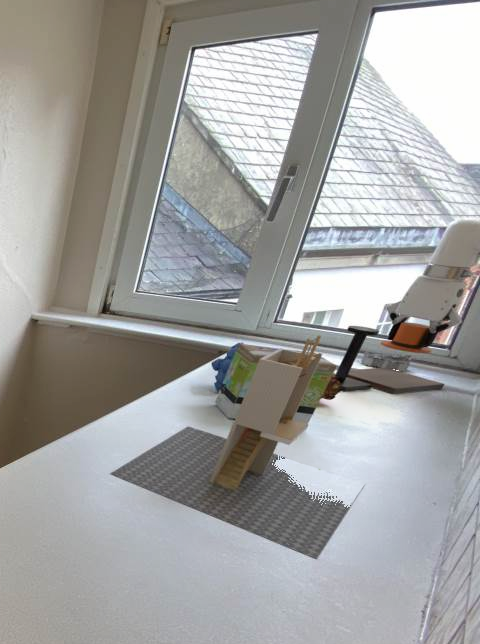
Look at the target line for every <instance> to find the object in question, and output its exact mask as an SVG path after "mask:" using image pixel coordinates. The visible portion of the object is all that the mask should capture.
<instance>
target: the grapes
mask: <svg viewBox="0 0 480 644" xmlns="http://www.w3.org/2000/svg"><path fill="white" fill-rule="evenodd" d="M239 344H245V343H244V342H238V343H235V344H234V345H232V346H231V347H230V349H229V350H227V351H226V352H225V353H226V356H224V358H217V359H215V360H214V361H211V363H210V364H211V367H212V370H214V371H215V372H217V373H216V374H215V375H214V379H215V382H214V383H213V384H214V388H215V389H216V391H217V392H219V391H220V389H221V386H222V384H223V381H224V379H225V376H226V374H227V371H228V369H229V367H230V364H231V362H232V359H233V357H234V355H235V352H236V350H237V348H238V345H239Z"/></svg>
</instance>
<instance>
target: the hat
mask: <svg viewBox="0 0 480 644" xmlns="http://www.w3.org/2000/svg"><path fill="white" fill-rule="evenodd" d="M426 332H429V325H427V324H422V323H416V322H409V321H405V322H402V323H401V325H400V327H399V329H398V331H397V333H396V335H395V336H394V338H393V340H388V339H386V340H385V339H384V340H381V341H380V345H382V346H383V347H386V348H389V349H392V350H397V351H403V352H407V353H415V354H430V353H431V352H432V349H431V348H429V347H424V348H421V347H419V346H418V345H419V343H420V341H421V339H422V338H423V336H424V334H425V333H426Z"/></svg>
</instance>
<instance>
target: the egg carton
mask: <svg viewBox="0 0 480 644" xmlns="http://www.w3.org/2000/svg"><path fill="white" fill-rule="evenodd" d="M411 361H412V355H411V354H410V355H409V354H403V353H401V354H398V353H397V354H396V355H392V354H387V355H386V354H380V353H370V352H368V351H364V353H363V356H362V357H361V360H360V364H362V365H364V366H366V365H368V366H367V367H376V366H377V367H376V368H380V367H381V368H384V367H385V368H389V369H395V370H399V371H406V372H407V370H408V368H409V366H410V365H411V364H412V363H411Z"/></svg>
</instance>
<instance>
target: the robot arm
mask: <svg viewBox="0 0 480 644" xmlns="http://www.w3.org/2000/svg"><path fill="white" fill-rule="evenodd" d="M479 253H480V220H479V219H478V220H476V219H475V220H474V219H455V220H452V221H450V223H449V224H448V225H447V226H446V228H445V230H444V232H443V234H442V236H441V237H440V240H439V242H438V244H437V246H436V248H435V250H434V251H433V253H432V255H431V257H430V259H429V261H428V263H427V265H426V267H425V269H424V271H423V273H422V275H418V276H417V278H416V279H415V280H414V281H413V282H412V283H411V285H410V286H409V287H408V289H407V291H406V292H405V294H403V297H402V298H401V300H400V301H397V302H395V303H393V304H390V305H388V306H387V307H386V311H387V313H388V314H389V318H390V321H391V324H392V326H391V328H390V330H389V332H388V337H387V340H389V341H392V340H393V338H394V336H395V335H396V333H397V331H398V329H399V327H400V325H401V323H402V322H408V320H409V319H410V318H415V319H420V320H425V321H429V325H428V326H429V332H426V333H425V334H424V336H423V338H422V339H421V341H420V343H419V345H418V346H419V347H421V348H424V347H427V348H429V347H430V346H431V345H432V344H433V343H434V341H435V340H436V337H437V336H438V334H440V333H442V332H444V331H447V330H448V329H451V328H453V327H455V326H458V325H460V324H462V323H463V320H462V318H461V317H460V315H459V313H458V309H459V307H460V305H461V302H462V300H463V297H464V294H465V291H466V288H467V284H468V281H464V280H466V279H467V278H470V279H471V278H473V277H474V276H475V272H474V271H471V267H472V266H473V264H474V262H475V260H476V258H477V256H478V254H479ZM443 322H446V323H443Z"/></svg>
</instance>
